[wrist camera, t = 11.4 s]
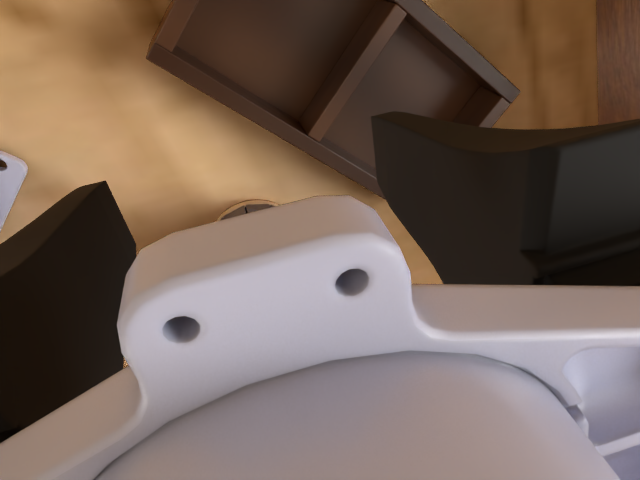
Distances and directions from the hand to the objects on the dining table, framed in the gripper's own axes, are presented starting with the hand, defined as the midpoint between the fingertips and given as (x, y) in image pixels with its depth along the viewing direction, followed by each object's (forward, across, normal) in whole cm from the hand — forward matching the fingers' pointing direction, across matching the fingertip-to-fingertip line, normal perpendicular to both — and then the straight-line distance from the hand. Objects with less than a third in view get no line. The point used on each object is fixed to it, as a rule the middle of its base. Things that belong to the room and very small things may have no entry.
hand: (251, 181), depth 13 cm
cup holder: (+10, -5, 0) cm, 12 cm away
